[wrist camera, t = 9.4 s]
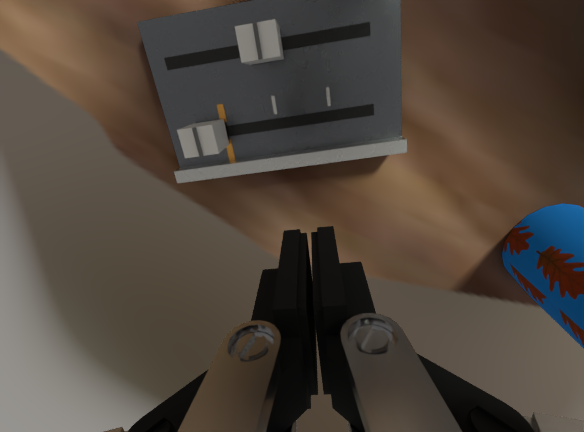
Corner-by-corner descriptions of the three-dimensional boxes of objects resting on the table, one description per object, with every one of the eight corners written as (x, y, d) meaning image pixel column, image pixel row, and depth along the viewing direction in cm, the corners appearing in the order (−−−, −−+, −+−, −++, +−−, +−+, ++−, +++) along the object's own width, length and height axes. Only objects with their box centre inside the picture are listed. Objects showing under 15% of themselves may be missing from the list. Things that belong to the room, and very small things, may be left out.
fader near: (279, 27, 26) (274, 18, 22) (283, 59, 27) (280, 55, 23) (244, 33, 26) (234, 25, 23) (250, 64, 27) (240, 62, 24)
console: (393, -21, 27) (406, -35, 23) (396, 144, 32) (406, 152, 29) (147, 25, 29) (127, 18, 25) (189, 173, 34) (177, 183, 31)
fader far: (223, 118, 29) (211, 124, 26) (229, 144, 30) (218, 154, 26) (192, 123, 30) (176, 130, 26) (199, 148, 31) (184, 158, 27)
